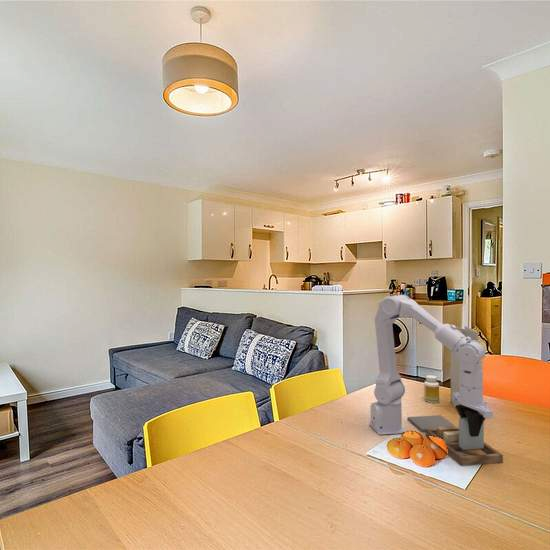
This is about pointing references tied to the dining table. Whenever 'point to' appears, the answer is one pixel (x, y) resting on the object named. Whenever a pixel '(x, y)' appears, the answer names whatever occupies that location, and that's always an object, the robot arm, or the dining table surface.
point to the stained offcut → (446, 430)
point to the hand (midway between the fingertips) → (471, 433)
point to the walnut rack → (487, 458)
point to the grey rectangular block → (466, 439)
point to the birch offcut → (451, 436)
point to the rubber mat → (429, 422)
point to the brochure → (456, 364)
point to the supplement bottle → (431, 389)
